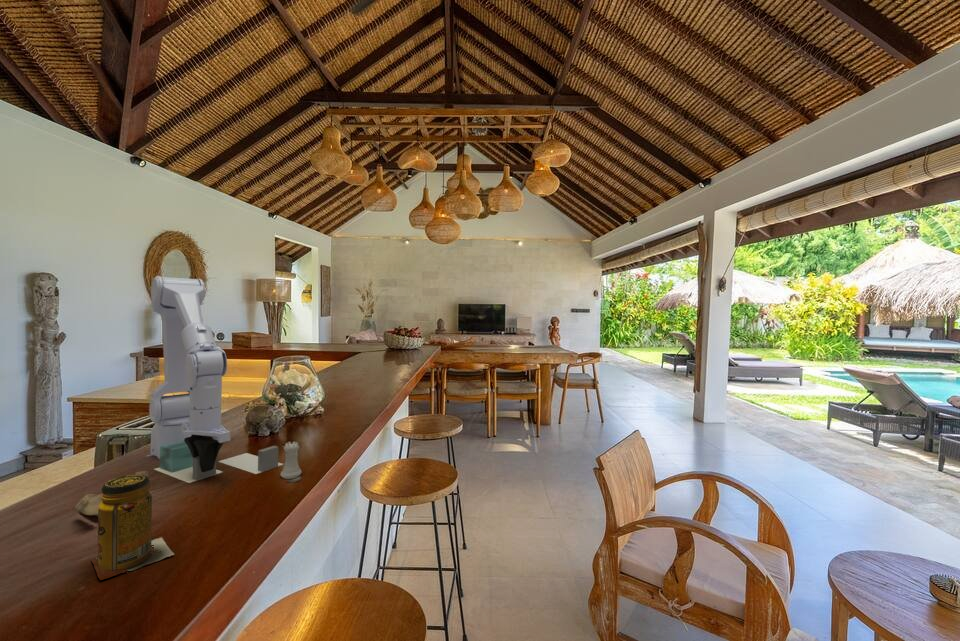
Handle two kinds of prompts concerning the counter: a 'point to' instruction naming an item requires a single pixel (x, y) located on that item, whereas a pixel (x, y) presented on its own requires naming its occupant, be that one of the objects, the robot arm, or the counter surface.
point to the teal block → (175, 456)
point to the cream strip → (191, 472)
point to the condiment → (127, 525)
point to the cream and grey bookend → (255, 460)
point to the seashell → (96, 500)
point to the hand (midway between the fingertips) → (204, 469)
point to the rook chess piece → (291, 463)
